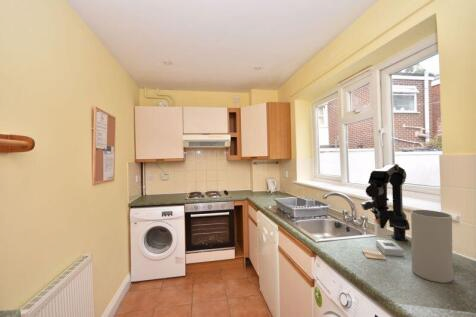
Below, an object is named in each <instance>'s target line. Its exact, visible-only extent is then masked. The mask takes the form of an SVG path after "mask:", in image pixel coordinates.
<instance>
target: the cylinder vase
mask: <svg viewBox="0 0 476 317" xmlns="http://www.w3.org/2000/svg"><path fill="white" fill-rule="evenodd" d="M410 217H411V218H410V220H411V222H410V225H411V227H410V228H411V233H410V234H411V270H412V272H413V273H414V274H415V275H417V277H420V278H422V279H424V280H427V281H430V282H434V283H439V284H443V283H444V284H446V283H447V284H448V283H451V282H452V281H453V279H454V278H453V277H454V276H453V268H454V267H453V216H452V214H449V213H447V212H443V211H439V210H430V209H413V210H411V211H410Z"/></svg>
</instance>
